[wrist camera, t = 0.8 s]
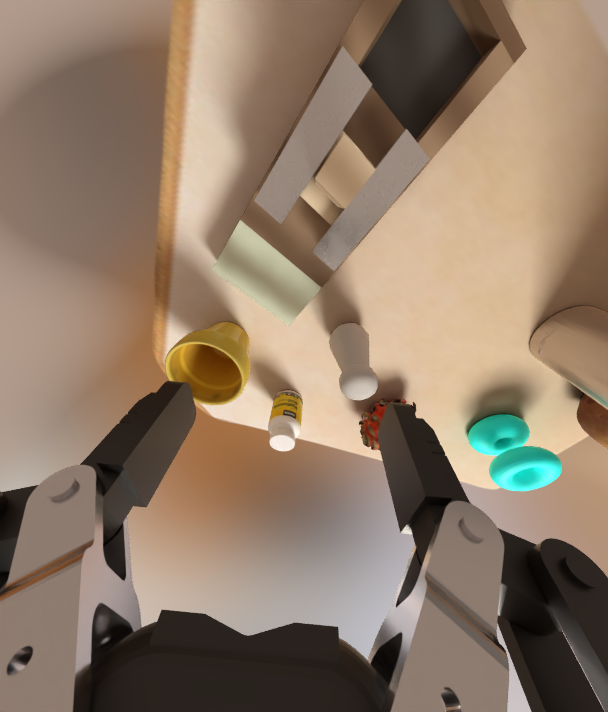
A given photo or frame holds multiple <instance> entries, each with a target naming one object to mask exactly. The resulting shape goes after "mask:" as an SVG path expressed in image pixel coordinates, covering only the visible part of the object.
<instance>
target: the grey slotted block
mask: <svg viewBox="0 0 608 712" xmlns="http://www.w3.org/2000/svg"><path fill="white" fill-rule="evenodd" d="M371 86H372V83H371V82H370V81H369V79H368V78H367V77H366V75H365V74H364V73H363V72H362V70H361V69H360V68H359V66H358V65H357V64H356V62H355V61H354V60H353V59H352V57H351V56H350V55H349V53H348V52H347V51H346V49H345V48H344V47H343V46H342V48H341V50H340V51H339V53H338V55H337V57H336V58H335V60H334V62H333V64H332V65H331V67H330V69H329V71H328V72H327V74H326V76H325V78H324V79H323V81H322V83H321V85H320V86H319V88H318V90H317V92H316V93H315V95H314V97H313V99H312V100H311V102H310V104H309V106H308V107H307V109H306V111H305V113H304V114H303V116H302V118H301V120H300V121H299V123H298V125H297V127H296V128H295V130H294V132H293V134H292V135H291V137H290V139H289V141H288V142H287V144H286V146H285V148H284V149H283V151H282V153H281V155H280V156H279V158H278V160H277V162H276V163H275V165H274V167H273V169H272V170H271V172H270V174H269V176H268V177H267V179H266V181H265V183H264V184H263V186H262V188H261V190H260V191H259V193H258V195H257V197H256V198H255V200H254V201H255V202H256V203H257V204H258V205H259V206H261V207H262V208H263V209H264V210H265V211H266V212H267V213H268V214H270V215H271V216H272V217H273V218H274V219H275V220H276V221H278V222H279V223H280V224H282V223H283V221H284V220H285V218H286V217H287V215H288V214H289V212H290V210H291V209H292V207H293V206H294V204H295V203H296V201H297V200H298V198H299V197H300V195H301V194H302V192H303V191H304V189H305V188H306V186H307V185H308V183H309V182H310V180H311V179H312V177H313V175H314V174H315V172H316V171H317V169H318V168H319V166H320V165H321V163H322V162H323V160H324V159H325V157H326V156H327V154H328V153H329V151H330V150H331V148H332V147H333V145H334V143H335V142H336V140H337V139H338V137H339V136H340V134H341V133H342V131H343V130H344V128H345V127H346V125H347V124H348V122H349V121H350V119H351V118H352V116H353V115H354V113H355V112H356V110H357V108H358V107H359V105H360V104H361V102H362V101H363V99H364V98H365V96H366V95H367V93H368V92H369V90H370V88H371ZM429 160H430V158H429V157H428V156H427V155H426V153H425V152H424V151H423V149H422V148H421V147H420V145H419V144H418V143H417V142H416V140H415V139H414V138H413V136H412V135H411V134H410V132H409V131H408V130H407V129H405V130H404V131H403V132H402V133H401V134H400V136H399V137H398V138H397V140H396V141H395V142H394V144H393V145H392V146H391V148H390V149H389V150H388V151H387V153H386V154H385V155H384V157H383V158H382V159H381V161H380V162H379V163H378V165H377V166H376V167H375V169H376V170H375V171H374V173H373V174H372V175H371V177H370V178H369V179H368V180H367V182H366V183H365V184H364V186H363V187H362V188H361V190H360V191H359V192H358V193H357V195H356V196H355V197H354V199H353V200H352V201H351V203H350V204H349V205H348V206H347V208H346V209H343V210H342V212H341V213H340V214H339V216H338V217H337V218H336V220H335V221H334V222H333V223H332V225H331V226H330V227H329V229H328V230H327V231H326V233H325V234H324V235H323V237H322V238H321V239H320V241H319V242H318V243H317V244H316V246H315V247H314V248H313V250H312V252H313V253H314V254H315V255H316V256H317V257H318V258H319V259H321V260H322V261H323V262H324V263H325V264H326V265H327V266H329V267H330V268H331V269H332V270H333V271H335V270H336V269H337V267H338V266H339V265H340V264H341V263H342V262H343V260H344V259H345V258H346V257H347V256H348V254H349V253H350V252H351V251H352V250H353V249H354V247H355V246H356V245H357V244H358V243H359V242H360V240H361V239H362V238H363V237H364V236H365V235H366V233H367V232H368V231H369V230H370V229H371V228H372V226H373V225H374V224H375V223H376V222H377V221H378V219H379V218H380V217H381V216H382V215H383V214H384V212H385V211H386V210H387V209H388V208H389V206H390V205H391V204H392V203H393V202H394V201H395V199H396V198H397V197H398V196H399V195H400V194H401V192H402V191H403V190H404V189H405V188H406V187H407V185H408V184H409V183H410V182H411V181H412V180H413V178H414V177H415V176H416V175H417V174H418V173H419V171H420V170H421V169H422V168H423V167H424V165H425V164H426V163H427V162H428V161H429Z"/></svg>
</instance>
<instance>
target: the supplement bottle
mask: <svg viewBox="0 0 608 712" xmlns="http://www.w3.org/2000/svg"><path fill="white" fill-rule="evenodd" d="M302 405H303V401H302V398H301V396H300V395H299V394H298V393H297V392H295V391H291V390H284V391H281V392H279V393H278V394H277V395H276V396H275V399H274V403H273V407H272V411H271V416H270V420H269V425H268V429H269V432H270V434H271V435H270V445H271V446H272V447H273V448H274V449H276V450H279V451H288V450H291V449H292V448H293V447H294V445H295V438H296V437H297V436H298V435H299V433H300V429H301V417H302Z"/></svg>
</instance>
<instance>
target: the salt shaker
mask: <svg viewBox="0 0 608 712" xmlns="http://www.w3.org/2000/svg"><path fill="white" fill-rule="evenodd" d="M329 343H330V349H331V351H332V353H333V355H334V357H335V359H336V361H337V363H338V365H339V367H340V369H341V371H342V373H341V376H340V378H339V383H340V389H341V391H342V393H343V394H344V395H345V396H346V397H347V398H350V399H352V400H364V399H367V398H369V397H370V396H372V395H373V394H375V392H376V390H377V388H378V382H377V376H376V374H375V372H374V371H373V370H372V368H370V367H369V335H368V333H367V332H366V331H365V329H364V328H363V327H361V326H359V325H358V324H356V323H346V324H341V325H339V326H338V327H337V328H336V329H335V330H334V331H333V332H332V334H331V337H330V340H329Z"/></svg>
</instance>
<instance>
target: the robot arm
mask: <svg viewBox="0 0 608 712" xmlns="http://www.w3.org/2000/svg"><path fill="white" fill-rule="evenodd" d="M530 351H531V353H532V355H533V356H534V357H535V358H537V359H538V360H540V361H541V362H542V363H544V364H545V365H547V366H548V367H549V368H551V369H552V370H553V371H555V372H556V373H557V374H559V375H560V376H562V377H563V378H564V379H566V380H567V381H569V382H570V383H571V384H573V385H574V386H575V387H577V388H578V389H580V390H581V391H582V392H584V393H585V394H587V395H588V396H589V397H591V398H592V399H594V400H595V401H596V402H598V403H599V404H600V405H602V406H603V407H605V408H606V409H607V410H608V312H606V311H603V310H601V309H598V308H595V307H591V306H577V307H572V308H569V309H566V310H563V311H561V312H559V313H557V314H555V315H554V316H552V317H550V318H549V319H548V320H546V321H545V322H544V323H543V324H542V325H541V326H540V327H539V328H538V329H537V330H536V331H535V333H534V334H533V336H532V338H531V341H530ZM195 417H196V408H195V404H194V399H193V395H192V391H191V387H190V384H189V383H187V382H177V381H167V382H165V383H164V384H163V385H162V386H161V388H160V389H159V390H158V391H157V392H156V393H150V394H149V395H147V396H145V397H144V398H142V399H141V400H139V401H138V402H137V403H136V404H135V405H134V406H133V407H132V408H131V410H130V411H129V412H128V414H126V415H125V416H124V417H123V418H122V419H121V421H120V423H119V424H117V425H116V426H115V427H114V428H113V429H112V430H111V432H110V433H109V434H108V435H107V436H106V437H105V438H104V439H103V440H102V441H101V443H100V444H99V445H98V446H97V447H96V448H95V449H94V450H93V451H92V453H91V454H90V455H89V456H88V457H87V458H86V459H85V460H84V461H83V462H82V463H81V464H80V465H75V466H71V467H68V468H65V469H63V470H60V471H58V472H56V473H54V474H53V475H51V476H50V477H48V478H47V479H45V480H44V481H43V482H42V483H41V484H39V485H37V486H31V487H26V488H21V489H16V490H11V491H6V492H0V712H507V702H508V686H509V663H508V658H507V654H506V651H505V649H504V648H503V647H502V645H500V644H499V642H498V639H497V632H496V630H497V623H498V625H499V628H500V631H501V633H502V636H503V638H504V641H505V643H506V646H507V649H508V651H509V653H510V657H511V659H512V662H513V664H514V667H515V669H516V672H517V675H518V677H519V680H520V683H521V685H522V688H523V690H524V693H525V696H526V698H527V701H528V703H529V706H530V709H531V711H532V712H604V710H605V712H608V578H607V576H606V575H605V574H604V573H603V571H602V570H601V569H600V568H599V567H598V566H597V565H596V564H595V563H594V562H593V561H592V560H591V559H590V558H589V557H588V556H586V555H585V554H584V553H582V552H581V551H580V550H578V549H577V548H575V547H574V546H572V545H570V544H568V543H566V542H564V541H561V540H558V539H551V538H550V539H546V540H544V541H542V542H541V543H540V544H538V545H536V544H534V543H531V542H529V541H527V540H524V539H522V538H519V537H517V536H515V535H512V534H509V533H507V532H505V531H503V530H501V529H499V528H497V527H496V525H495V524H494V523H493V521H492V520H491V519H490V518H489V517H488V516H487V515H486V514H485V513H484V512H483V511H481V510H480V509H479V508H477V507H476V506H474V505H472V504H471V503H470V502H469V500H468V498H467V496H466V494H465V492H464V490H463V488H462V487H461V484H460V482H459V480H458V478H457V476H456V474H455V472H454V470H453V468H452V466H451V464H450V462H449V460H448V458H447V456H445V452H444V450H443V448H442V446H441V445H440V442H439V440H438V438H437V436H436V434H435V432H434V430H433V429H432V428H431V427H430V426H429V425H428V424H427V423H426V422H425V421H424V420H423V419H420V418H416V416H415V414H414V411H413V409H412V407H411V406H410V405H409V404H403V403H393V402H389V403H388V404H387V407H386V410H385V412H384V415H383V418H382V420H381V423H380V426H379V429H378V443H379V447H380V451H381V455H382V459H383V463H384V467H385V471H386V476H387V479H388V484H389V488H390V492H391V496H392V500H393V504H394V508H395V512H396V516H397V520H398V524H399V528H400V533H406V534H413V538H414V542H415V546H414V548H413V550H412V553H411V556H410V558H409V561H408V564H407V566H406V569H405V572H404V574H403V577H402V579H401V582H400V585H399V587H398V591H397V593H396V595H395V598H394V601H393V603H392V606H391V608H390V610H389V612H388V614H387V616H386V618H385V619H384V621H383V623H382V625H381V628H380V630H379V632H378V634H377V637H376V639H375V642H374V645H373V647H372V650H371V652H370V655H369V657H368V660H366V658H365V657H364V656H362V655H361V654H360V653H359V652H358V651H357V650H356V649H355V648H354V647H352V646H351V645H350V644H348V643H347V642H345V641H344V640H342V639H340V638H339V635H338V634H339V633H338V627H333V626H322V625H313V624H302V623H293V624H289V625H285V626H282V627H278V628H275V629H272V630H268V631H265V632H261V633H258V634H255V635H250V636H246V635H243V634H241V633H239V632H237V631H235V630H233V629H232V628H230V627H228V626H226V625H224V624H223V623H220V622H218V621H217V620H215V619H213V618H212V617H210V616H208V615H206V614H201V613H200V614H199V613H189V612H180V611H170V610H162V611H161V613H160V616H159V619H158V621H157V622H154V623H152V624H149V625H147V626H145V627H141V615H140V608H139V603H138V598H137V595H136V593H135V590H134V587H133V581H132V571H131V557H130V542H129V528H128V519H127V515H128V513H129V512H130V510H131V508H132V507H133V506H139V507H147V505H148V504H149V502H150V500H151V498H152V496H153V495H154V493H155V491H156V489H157V488H158V486H159V484H160V482H161V480H162V479H163V477H164V475H165V473H166V472H167V470H168V468H169V466H170V465H171V463H172V461H173V459H174V458H175V456H176V454H177V452H178V451H179V449H180V447H181V445H182V443H183V442H184V440H185V438H186V436H187V435H188V433H189V431H190V429H191V428H192V426H193V424H194V421H195ZM562 631H563V632H564V634H565V635H566V638H567V640H568V641H569V643H570V645H571V647H572V649H573V651H574V653H575V655H576V656H577V658H578V660H579V662H580V664H581V666H582V668H583V670H584V671H585V673H586V675H587V677H588V679H589V681H590V683H591V685H592V687H593V689H594V691H595V692H596V694H597V696H598V698H599V700H600V702H601V704H602V706H603V708H604V710H603V708H602V706H601V704H600V702H599V701H598V699H597V697H596V695H595V693H594V691H593V689H592V687H591V686H590V683H589V681H588V680H587V678H586V676H585V674H584V672H583V670H582V668H581V666H580V664H579V662H578V661H577V659H576V657H575V655H574V653H573V651H572V649H571V647H570V645H569V643H568V642H567V640H566V638H565V636H564V634H563V632H562ZM445 710H446V711H445Z"/></svg>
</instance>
